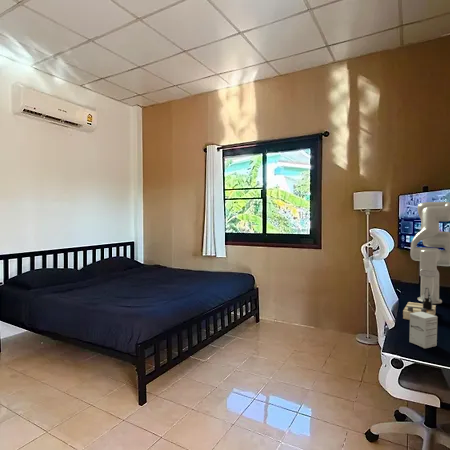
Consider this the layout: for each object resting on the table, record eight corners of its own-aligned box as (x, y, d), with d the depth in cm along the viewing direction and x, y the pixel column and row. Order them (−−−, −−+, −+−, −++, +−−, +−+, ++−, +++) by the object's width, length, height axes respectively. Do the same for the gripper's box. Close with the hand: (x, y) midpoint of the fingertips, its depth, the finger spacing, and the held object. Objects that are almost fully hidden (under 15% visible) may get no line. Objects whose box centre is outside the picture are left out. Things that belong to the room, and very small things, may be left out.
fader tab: (423, 306, 175) (423, 298, 175) (432, 308, 172) (432, 299, 172) (422, 308, 172) (422, 300, 172) (431, 309, 170) (431, 301, 170)
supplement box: (408, 342, 141) (409, 313, 140) (421, 339, 143) (421, 310, 143) (424, 349, 134) (425, 318, 133) (437, 346, 136) (438, 315, 136)
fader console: (408, 308, 186) (408, 298, 186) (435, 312, 179) (435, 301, 179) (403, 318, 170) (403, 307, 170) (432, 323, 163) (432, 311, 162)
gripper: (421, 270, 180) (420, 303, 181) (417, 275, 167) (417, 311, 168) (437, 271, 176) (437, 305, 177) (435, 276, 163) (434, 313, 163)
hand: (427, 307), depth 172 cm, fingers closed on fader tab, 3 cm apart
